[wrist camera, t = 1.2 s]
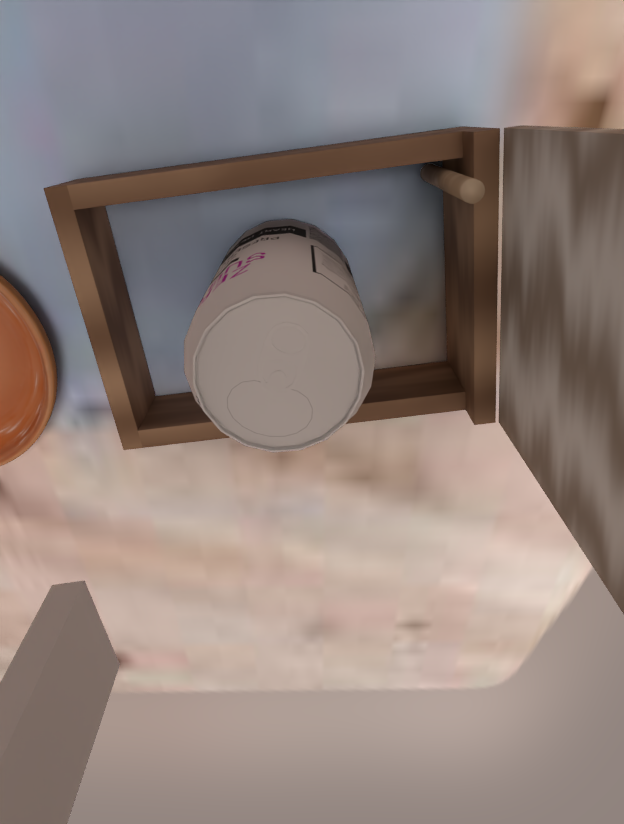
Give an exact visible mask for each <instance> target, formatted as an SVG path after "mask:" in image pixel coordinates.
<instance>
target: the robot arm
mask: <svg viewBox="0 0 624 824" xmlns="http://www.w3.org/2000/svg"><path fill="white" fill-rule="evenodd" d="M119 665H120V664H119V662H118V659H117V657H116V654H115V652H114V650H113V647H112V645H111V643H110V640H109V638H108V635H107V633H106V631H105V628H104V626H103V624H102V621H101V619H100V616H99V614H98V612H97V609H96V607H95V605H94V602H93V600H92V597H91V595H90V593H89V590H88V588H87V586H86V583H85V581H79V582H71V583H64V584H56V585H52V586H51V588H50V590H49V592H48V594H47V596H46V598H45V600H44V602H43V603H42V605H41V607H40V609H39V611H38V613H37V615H36V617H35V618H34V620H33V622H32V624H31V626H30V628H29V630H28V632H27V634H26V635H25V637H24V639H23V641H22V643H21V645H20V647H19V649H18V650H17V652H16V654H15V656H14V658H13V660H12V662H11V664H10V666H9V667H8V669H7V671H6V673H5V675H4V677H3V679H2V681H1V682H0V824H67V823H68V819H69V817H70V814H71V811H72V807H73V804H74V801H75V798H76V795H77V792H78V789H79V786H80V783H81V780H82V777H83V774H84V771H85V768H86V765H87V762H88V759H89V756H90V753H91V750H92V747H93V744H94V741H95V738H96V735H97V732H98V729H99V726H100V723H101V720H102V717H103V714H104V711H105V708H106V705H107V702H108V699H109V696H110V693H111V690H112V687H113V683H114V680H115V677H116V674H117V671H118V668H119Z"/></svg>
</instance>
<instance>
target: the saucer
mask: <svg viewBox="0 0 624 824" xmlns="http://www.w3.org/2000/svg"><path fill="white" fill-rule="evenodd" d="M56 392H57V370H56V363H55V358H54V354H53V350H52V347H51V344H50V342H49V339H48V337H47V334H46V332H45V330H44V328H43V326H42V324H41V323H40V321H39V319H38V317H37V316H36V314H35V313H34V311H33V310H32V308H31V307H30V306H29V304H28V303H27V302H26V300H25V299H24V298H23V297H22V296H21V294H20V293H19V292H18V291H17V290H16V289H15V288H14V287H13V286H12V285H11V284H10V283H9V282H8V281H7V280H5V279H4V278H3V277H2V276H1V275H0V466H2V465H4V464H6V463H8V462H10V461H12V460H14V459H16V458H17V457H19V456H20V455H21V454H23V453H24V452H25V451H26V450H27V449H29V448H30V447H31V446H32V445H33V443H34V442H35V441H36V440H37V439H38V437H39V436H40V435H41V433H42V432H43V430H44V428H45V426H46V425H47V422H48V420H49V418H50V416H51V413H52V410H53V407H54V404H55V399H56Z"/></svg>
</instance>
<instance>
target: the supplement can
mask: <svg viewBox="0 0 624 824" xmlns="http://www.w3.org/2000/svg"><path fill="white" fill-rule="evenodd" d="M375 358H376V355H375V351H374V346H373V342H372V337H371V333H370V328H369V324H368V321H367V318H366V315H365V312H364V309H363V306H362V303H361V300H360V297H359V294H358V291H357V288H356V285H355V282H354V279H353V276H352V273H351V270H350V267H349V264H348V261H347V259H346V257H345V256H344V254H343V253H342V251H341V250H340V248H339V246H338V245H337V243H336V242H335V240H334V239H332V238H331V237H330V236H328V235H327V234H325V233H324V232H323V231H321V230H320V229H319V228H317V227H316V226H314V225H311V224H307V223H304V222H300V221H297V220H293V219H286V220H274V221H266V222H264V223H262V224H260V225H258V226H256V227H254V228H252V229H250V230H248V231H246V232H245V233H244V234H243V235H242V236H241V237H240V238H239V239H238V240H237V241H236V242H235V244H234V245H233V246H232V247H231V248H230V249H229V251H228V253H227V254H226V256H225V258H224V260H223V262H222V264H221V266H220V267H219V269H218V271H217V273H216V275H215V277H214V278H213V280H212V282H211V284H210V286H209V288H208V290H207V291H206V293H205V295H204V297H203V299H202V301H201V302H200V304H199V306H198V308H197V310H196V312H195V315H194V317H193V320H192V322H191V325H190V327H189V330H188V332H187V335H186V337H185V340H184V372H185V375H186V378H187V380H188V383H189V385H190V388H191V391H192V393H193V396H194V398H195V401H196V402H197V403H198V404H199V406H200V407H201V408H202V410H203V411H204V413H205V414H206V415H207V416H208V417H209V418H210V420H211V421H212V422H213V423H214V424H215V425H216V426H217V428H218V429H219V430H220V431H221V432H222V433H224V434H226V435H227V436H229V437H231V438H232V439H234V440H236V441H238V442H239V443H241V444H243V445H244V446H247V447H252V448H256V449H260V450H265V451H269V452H284V451H297V450H303V449H305V448H307V447H310V446H312V445H315V444H317V443H320V442H322V441H325V440H327V439H328V438H329V437H330V436H332V435H333V434H334V433H335V432H336V431H337V430H338V429H340V428H341V427H342V426H343V425H344V424H345V423H347V422H348V420H349V419H350V418H351V417H352V416H354V415H355V414H356V413H357V411H358V409H359V407H360V406H361V404H362V402H363V400H364V399H365V397H366V395H367V393H368V391H369V390H370V388H371V384H372V378H373V371H374V365H375Z"/></svg>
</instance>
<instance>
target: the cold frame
mask: <svg viewBox="0 0 624 824" xmlns="http://www.w3.org/2000/svg"><path fill="white" fill-rule="evenodd" d="M499 144H500V128H481V127H455V128H448V129H441V130H433V131H426V132H419V133H411V134H404V135H397V136H389V137H382V138H375V139H368V140H360V141H353V142H346V143H338V144H331V145H324V146H316V147H309V148H302V149H294V150H287V151H280V152H272V153H265V154H258V155H251V156H243V157H236V158H229V159H221V160H214V161H207V162H199V163H192V164H185V165H177V166H170V167H163V168H156V169H148V170H141V171H134V172H126V173H119V174H112V175H104V176H97V177H90V178H82V179H76V180H72V181H69V182H65V183H61V184H58V185H54V186H51V187H47V188H44V191H45V195H46V198H47V201H48V204H49V208H50V211H51V214H52V218H53V221H54V224H55V227H56V231H57V234H58V237H59V240H60V244H61V247H62V250H63V253H64V257H65V260H66V263H67V266H68V270H69V273H70V276H71V280H72V283H73V286H74V289H75V293H76V296H77V299H78V302H79V306H80V309H81V312H82V315H83V319H84V322H85V325H86V328H87V332H88V335H89V338H90V342H91V345H92V348H93V351H94V355H95V358H96V361H97V364H98V368H99V371H100V374H101V377H102V381H103V384H104V387H105V390H106V394H107V397H108V400H109V404H110V407H111V410H112V413H113V417H114V420H115V423H116V426H117V430H118V433H119V436H120V439H121V443H122V446H123V449H124V450H127V449H136V448H144V447H153V446H161V445H169V444H178V443H186V442H195V441H203V440H212V439H220V438H229V436H227V435H226V434H224V433H222V432H221V431H220V430H219V429H218V428H217V426H216V425H215V424H214V423H213V422H212V421H211V420H210V418H209V417H208V416H207V415H206V414H205V413H204V411H203V410H202V408H201V407H200V406H199V404H198V403H197V402H196V401H195V398H194V396H193V393H192V392H188V393H179V394H171V395H163V396H155V392H154V388H153V385H152V381H151V377H150V373H149V370H148V366H147V362H146V358H145V355H144V351H143V347H142V343H141V340H140V336H139V332H138V328H137V324H136V321H135V317H134V313H133V309H132V306H131V302H130V298H129V294H128V291H127V287H126V283H125V279H124V276H123V272H122V268H121V264H120V261H119V257H118V253H117V249H116V246H115V242H114V238H113V234H112V231H111V227H110V223H109V219H108V216H107V212H106V208H105V206H107V205H114V204H121V203H129V202H136V201H144V200H151V199H159V198H166V197H173V196H181V195H188V194H196V193H203V192H211V191H218V190H225V189H233V188H240V187H248V186H255V185H263V184H270V183H277V182H285V181H292V180H300V179H307V178H314V177H322V176H329V175H337V174H344V173H352V172H359V171H366V170H374V169H381V168H389V167H396V166H404V165H411V164H418V163H426V162H433V161H441V160H442V167H440V166H437V165H434V164H431V163H428V164H425V165H424V166H423V167H422V169H421V171H420V175H421V178H422V179H423V180H424V181H426V182H428V183H430V184H432V185H434V186H436V187H438V188H439V189H441V190H443V210H444V251H445V292H446V333H447V361H443V362H435V363H427V364H419V365H410V366H402V367H394V368H386V369H377V370H374V371H373V378H372V384H371V388H370V390H369V391H368V393H367V395H366V397H365V399H364V400H363V402H362V404H361V406H360V407H359V409H358V411H357V413H356V414H355V415H354V416H352V417H351V418H350V419H349V420H348V422H347V423H345V424H348V423H356V422H365V421H373V420H382V419H390V418H399V417H407V416H416V415H424V414H432V413H441V412H449V411H458V410H466V411H467V413H468V414H469V416H470V418H471V420H472V421H473V423H474V425H477V424H486V423H494V422H495V412H496V345H497V278H498V211H499ZM499 423H500V425H501V426H502V428H503V429H504V431H505V432H506V434H507V435H508V437H509V438H510V440H511V441H512V443H513V445H514V446H515V448H516V449H517V451H518V452H519V454H520V455H521V457H522V458H523V460H524V461H525V463H526V465H527V466H528V468H529V469H530V471H531V472H532V474H533V475H534V477H535V478H536V480H537V481H538V483H539V484H540V486H541V488H542V489H543V491H544V492H545V494H546V495H547V497H548V498H549V500H550V501H551V503H552V504H553V506H554V508H555V509H556V511H557V512H558V514H559V515H560V517H561V518H562V520H563V521H564V523H565V524H566V526H567V528H568V529H569V531H570V532H571V534H572V535H573V537H574V538H575V540H576V541H577V543H578V544H579V546H580V547H581V549H582V551H583V552H584V554H585V555H586V557H587V558H588V560H589V561H590V563H591V564H592V566H593V567H594V569H595V571H596V572H597V574H598V575H599V577H600V578H601V580H602V581H603V583H604V584H605V586H606V587H607V589H608V591H609V592H610V593H611V595H612V597H613V598H614V600H615V601H616V603H617V604H618V606H619V607H620V609H621V611H622V612H623V614H624V129H604V128H576V127H548V126H514V127H507V128H504V161H503V217H502V273H501V329H500V384H499Z"/></svg>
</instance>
